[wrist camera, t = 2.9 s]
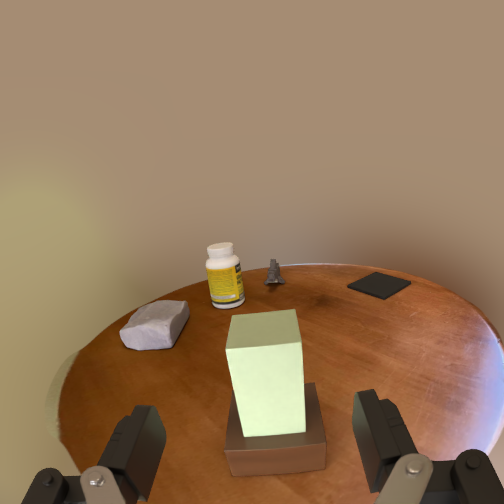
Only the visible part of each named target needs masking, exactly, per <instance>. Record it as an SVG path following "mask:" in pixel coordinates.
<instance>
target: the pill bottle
mask: <svg viewBox="0 0 504 504" xmlns="http://www.w3.org/2000/svg"><path fill="white" fill-rule="evenodd" d="M207 251H208V255H209V256H210V258H209V259H208V260H207V261H206V271H207V276H208V282H209V288H210V293H211V299H212V304H213V305H214V306H215V307H217V308H221V309H227V308H233V307H237V306H239V305H241V304H242V303H243V302H244V300H245V296H244V289H243V282H242V275H241V268H240V261H239V258H238V257H237V256H236V255H234V254H233V252H234V248H233V244H232V243H217V244H213V245H210V246H208V247H207Z"/></svg>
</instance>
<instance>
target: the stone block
mask: <svg viewBox="0 0 504 504" xmlns="http://www.w3.org/2000/svg"><path fill="white" fill-rule="evenodd" d="M188 317H189V308H188V305H187V302H186V301H183V302H182V301H170V300H166V301H163V300H162V301H156V302H154V303H151V304H147V305H145V306H143V307H141V308H139V309H138V311H137V312H136V313H134V314H133V315H132V316H131V318H130V320H129V322H128V323H127V324H126V325H125V326H124V327H123V328H122V329H121V331H120V337H121V340H122V341H123V343H124V344H125V345H126V347H128V348H132V349H136V350H148V349H163V348H171V347H172V346H173V345H174V343H175V341H176V340H177V338H178V336H179V334H180V332H181V330H182V329H183V326H184V324H185V323H186V321H187V319H188Z"/></svg>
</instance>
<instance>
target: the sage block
mask: <svg viewBox="0 0 504 504" xmlns="http://www.w3.org/2000/svg"><path fill="white" fill-rule="evenodd" d="M226 354H227V359H228V364H229V369H230V374H231V379H232V384H233V389H234V393H235V398H236V403H237V407H238V412H239V416H240V421H241V425H242V430H243V434H244V437H252V436H268V435H280V434H291V433H300V432H306V420H305V394H304V372H303V354H302V341H301V336H300V331H299V326H298V321H297V316H296V311H295V309H292V310H283V311H273V312H263V313H253V314H242V315H232V319H231V324H230V329H229V334H228V339H227V344H226Z"/></svg>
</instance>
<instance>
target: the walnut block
mask: <svg viewBox="0 0 504 504" xmlns="http://www.w3.org/2000/svg"><path fill="white" fill-rule="evenodd" d="M304 394H305V420H306V432H300V433H291V434H280V435H268V436H252V437H244V434H243V430H242V425H241V421H240V416H239V412H238V407H237V403H236V398H235V393H234V390H232V396H231V404H230V411H229V418H228V426H227V433H226V441H225V448H224V452H225V455H226V458H227V461H228V464H229V467H230V470H231V473H232V476H258V475H275V474H288V473H298V472H307V471H315V470H322V469H325V465H326V447H327V442H326V436H325V431H324V426H323V421H322V416H321V411H320V406H319V401H318V396H317V391H316V387H315V383H307V384H304Z"/></svg>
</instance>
